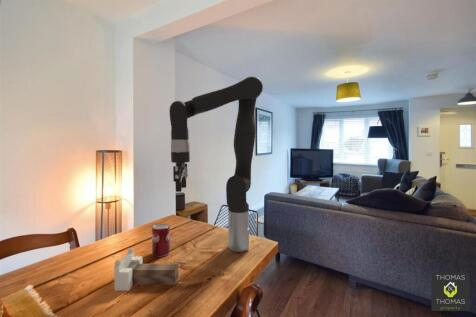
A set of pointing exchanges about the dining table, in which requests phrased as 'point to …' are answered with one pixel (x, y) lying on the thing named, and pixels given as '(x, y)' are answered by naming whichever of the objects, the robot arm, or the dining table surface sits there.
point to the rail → (154, 274)
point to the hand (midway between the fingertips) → (181, 189)
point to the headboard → (125, 271)
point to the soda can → (160, 240)
